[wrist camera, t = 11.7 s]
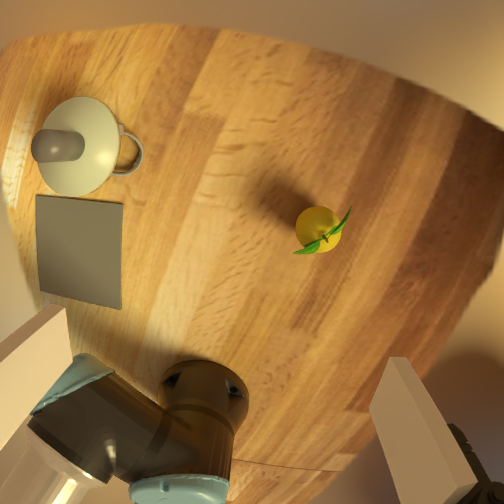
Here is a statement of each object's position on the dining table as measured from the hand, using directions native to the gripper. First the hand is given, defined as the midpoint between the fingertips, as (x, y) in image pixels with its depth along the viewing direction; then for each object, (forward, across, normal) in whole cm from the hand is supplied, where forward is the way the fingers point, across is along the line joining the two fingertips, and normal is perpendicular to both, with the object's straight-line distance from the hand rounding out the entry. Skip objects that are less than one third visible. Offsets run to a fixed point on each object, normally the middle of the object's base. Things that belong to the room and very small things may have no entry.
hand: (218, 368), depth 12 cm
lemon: (+32, -8, -1) cm, 33 cm away
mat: (+32, +26, +8) cm, 42 cm away
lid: (+24, +22, -8) cm, 33 cm away
